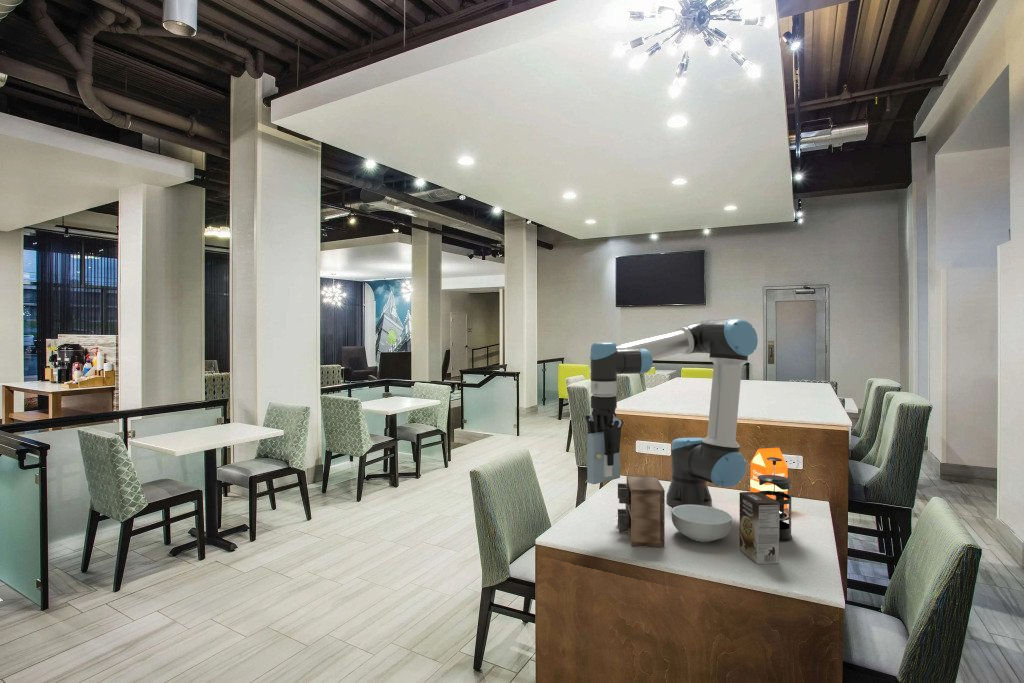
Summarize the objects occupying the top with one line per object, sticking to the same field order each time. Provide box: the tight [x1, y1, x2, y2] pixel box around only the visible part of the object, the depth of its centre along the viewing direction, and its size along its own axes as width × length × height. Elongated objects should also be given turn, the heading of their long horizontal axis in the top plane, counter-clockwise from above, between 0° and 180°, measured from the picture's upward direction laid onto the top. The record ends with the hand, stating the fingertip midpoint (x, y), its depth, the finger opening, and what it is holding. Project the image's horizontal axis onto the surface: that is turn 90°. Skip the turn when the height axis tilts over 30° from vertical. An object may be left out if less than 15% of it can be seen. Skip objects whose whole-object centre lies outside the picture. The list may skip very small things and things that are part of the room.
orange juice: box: [749, 447, 789, 509], centre depth 178 cm, size 8×9×20 cm
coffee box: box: [738, 491, 780, 565], centre depth 137 cm, size 9×6×16 cm
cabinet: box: [617, 475, 666, 548], centre depth 152 cm, size 12×16×16 cm
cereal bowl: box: [671, 505, 733, 543], centre depth 151 cm, size 17×17×7 cm
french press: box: [758, 457, 793, 543], centre depth 152 cm, size 12×9×23 cm
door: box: [586, 432, 621, 485], centre depth 150 cm, size 11×4×14 cm, turn 126°
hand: (604, 474), depth 151 cm, fingers closed on door, 2 cm apart
